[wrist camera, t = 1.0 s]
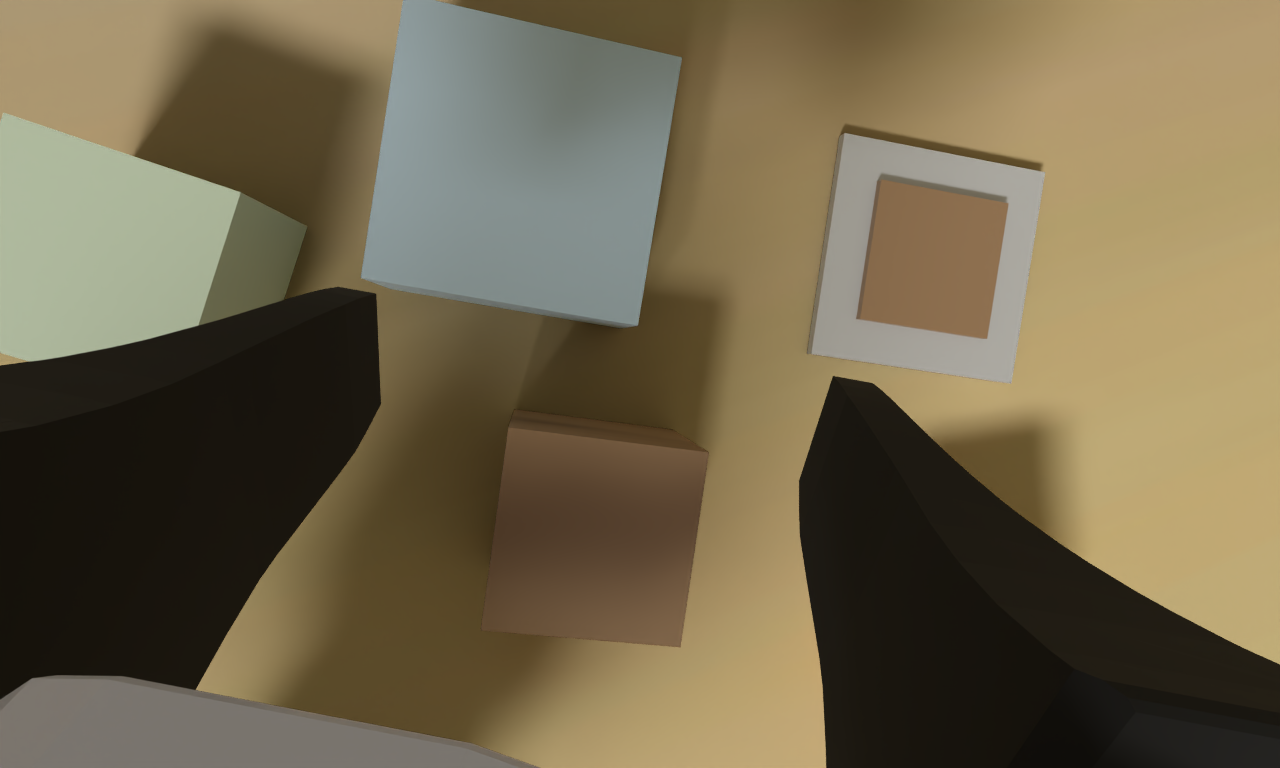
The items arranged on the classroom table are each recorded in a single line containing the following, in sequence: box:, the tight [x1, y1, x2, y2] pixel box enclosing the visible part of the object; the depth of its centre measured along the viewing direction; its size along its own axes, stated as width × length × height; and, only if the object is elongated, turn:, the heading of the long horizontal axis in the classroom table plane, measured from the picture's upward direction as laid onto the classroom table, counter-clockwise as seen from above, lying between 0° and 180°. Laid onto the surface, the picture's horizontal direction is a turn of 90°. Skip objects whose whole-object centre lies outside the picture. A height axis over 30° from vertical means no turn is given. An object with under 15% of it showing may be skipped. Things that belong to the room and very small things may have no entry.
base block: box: [361, 0, 682, 328], centre depth 21 cm, size 7×7×4 cm
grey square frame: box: [807, 133, 1045, 383], centre depth 24 cm, size 7×7×1 cm
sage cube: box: [0, 113, 307, 362], centre depth 19 cm, size 5×5×5 cm
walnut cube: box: [481, 409, 709, 647], centre depth 21 cm, size 5×5×5 cm
